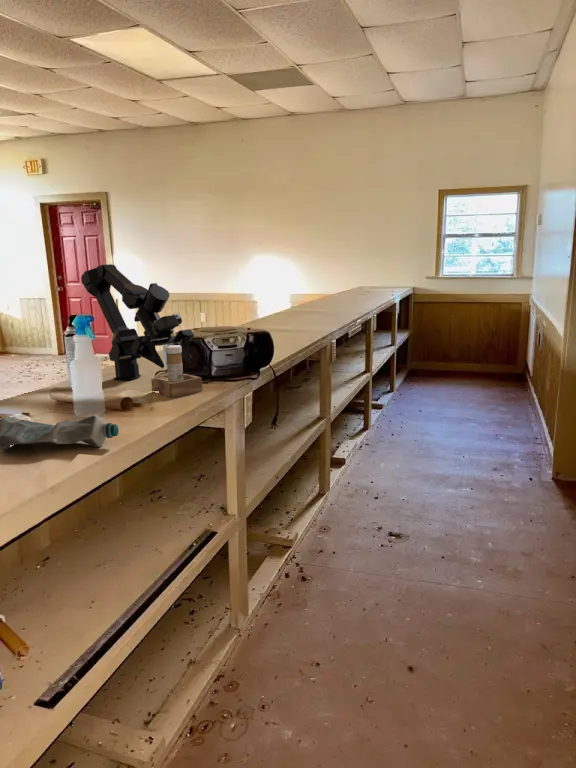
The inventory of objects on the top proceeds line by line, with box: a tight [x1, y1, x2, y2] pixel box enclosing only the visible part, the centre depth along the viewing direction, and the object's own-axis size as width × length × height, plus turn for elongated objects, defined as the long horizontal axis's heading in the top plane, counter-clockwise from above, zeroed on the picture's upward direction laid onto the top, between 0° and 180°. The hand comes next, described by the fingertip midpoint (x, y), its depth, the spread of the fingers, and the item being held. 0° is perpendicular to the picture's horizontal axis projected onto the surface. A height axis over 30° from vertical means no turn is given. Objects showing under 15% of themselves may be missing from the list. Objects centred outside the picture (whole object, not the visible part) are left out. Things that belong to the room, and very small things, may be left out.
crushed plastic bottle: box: [0, 415, 119, 451], centre depth 116 cm, size 13×7×25 cm
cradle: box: [150, 373, 203, 399], centre depth 161 cm, size 10×10×4 cm
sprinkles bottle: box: [164, 344, 184, 383], centre depth 160 cm, size 5×5×14 cm
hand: (176, 364), depth 159 cm, fingers open, 9 cm apart
